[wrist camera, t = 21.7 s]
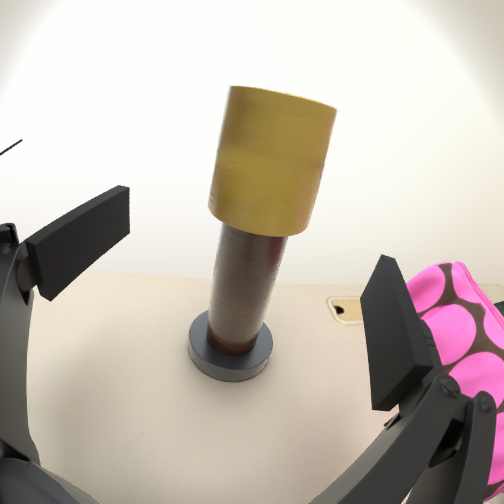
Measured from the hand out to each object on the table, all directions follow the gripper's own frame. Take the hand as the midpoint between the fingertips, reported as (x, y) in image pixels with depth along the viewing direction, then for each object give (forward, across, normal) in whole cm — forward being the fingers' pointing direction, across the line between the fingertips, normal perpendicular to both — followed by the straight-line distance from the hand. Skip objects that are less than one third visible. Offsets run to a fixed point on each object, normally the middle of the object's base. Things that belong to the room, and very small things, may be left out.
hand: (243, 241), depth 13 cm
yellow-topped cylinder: (+2, 0, -10) cm, 10 cm away
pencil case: (0, +19, -10) cm, 22 cm away
